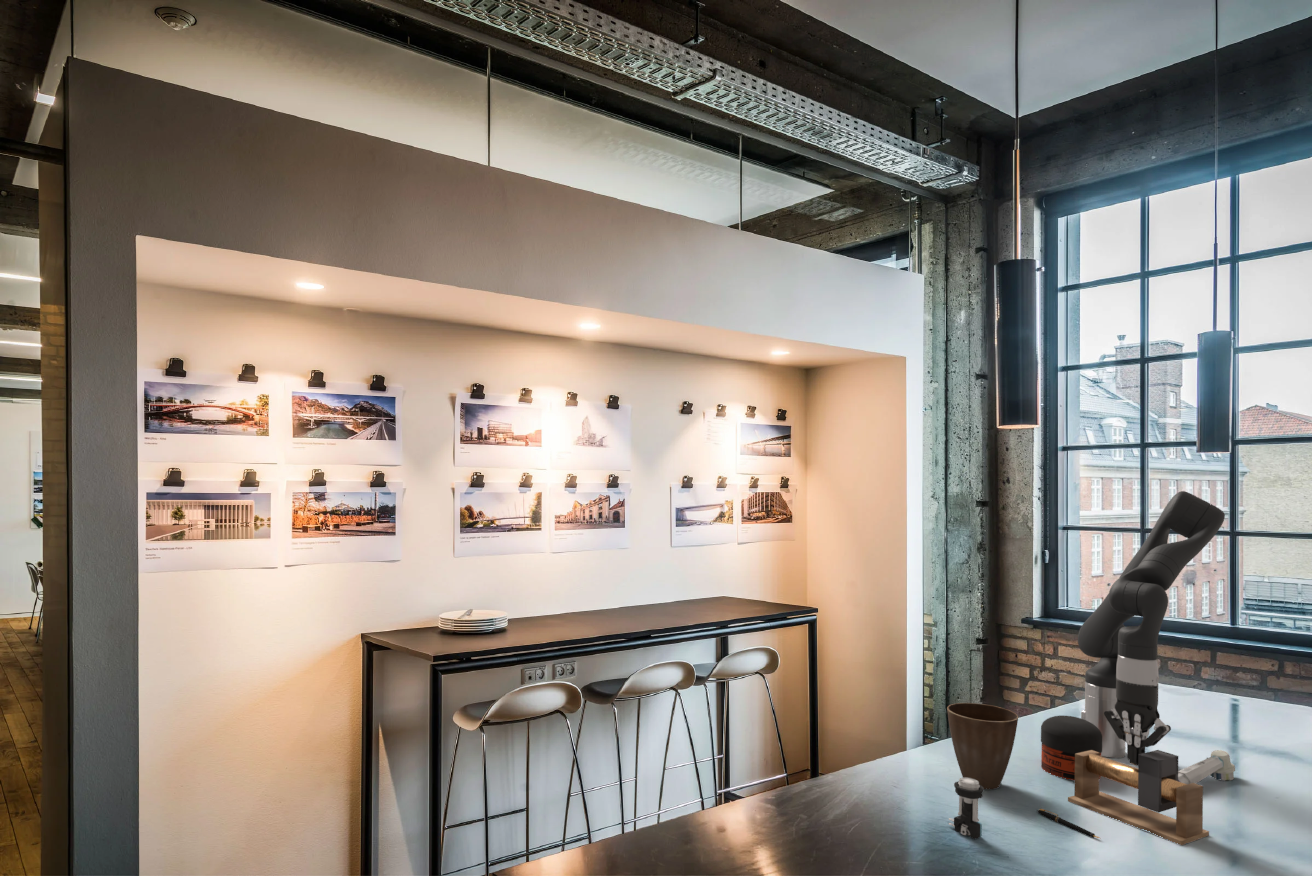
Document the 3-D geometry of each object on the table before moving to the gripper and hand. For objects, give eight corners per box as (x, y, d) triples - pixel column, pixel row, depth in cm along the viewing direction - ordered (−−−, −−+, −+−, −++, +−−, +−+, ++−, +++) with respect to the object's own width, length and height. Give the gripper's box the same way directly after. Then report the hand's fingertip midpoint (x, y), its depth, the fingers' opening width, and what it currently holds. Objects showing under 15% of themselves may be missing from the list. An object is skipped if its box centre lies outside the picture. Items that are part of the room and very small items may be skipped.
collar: (1137, 805, 163) (1138, 754, 164) (1157, 799, 167) (1157, 749, 167) (1158, 812, 160) (1159, 760, 160) (1177, 806, 163) (1178, 756, 164)
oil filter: (1109, 773, 193) (1052, 758, 202) (1110, 721, 193) (1052, 708, 202) (1091, 786, 184) (1031, 770, 193) (1091, 731, 184) (1032, 717, 193)
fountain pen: (1103, 842, 155) (1103, 834, 155) (1099, 843, 154) (1100, 835, 155) (1038, 813, 168) (1038, 805, 168) (1034, 813, 167) (1034, 806, 167)
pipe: (1085, 774, 174) (1085, 754, 174) (1096, 771, 176) (1097, 751, 176) (1178, 807, 158) (1179, 785, 158) (1190, 803, 160) (1190, 782, 160)
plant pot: (934, 782, 182) (936, 710, 183) (961, 766, 193) (962, 698, 194) (1002, 802, 172) (1003, 726, 173) (1026, 784, 183) (1028, 712, 184)
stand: (1067, 801, 174) (1068, 754, 175) (1095, 793, 179) (1096, 748, 180) (1181, 845, 154) (1181, 792, 155) (1209, 835, 159) (1209, 784, 160)
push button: (941, 829, 157) (942, 777, 158) (957, 823, 161) (958, 771, 161) (972, 842, 152) (973, 788, 153) (988, 835, 155) (989, 782, 156)
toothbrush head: (1159, 772, 184) (1214, 741, 197) (1161, 801, 184) (1215, 769, 197) (1184, 780, 179) (1238, 748, 192) (1186, 810, 179) (1240, 776, 192)
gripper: (1095, 673, 172) (1094, 756, 171) (1160, 688, 160) (1159, 777, 160) (1115, 670, 176) (1114, 751, 175) (1180, 685, 164) (1179, 772, 163)
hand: (1136, 764), depth 167 cm, fingers closed
